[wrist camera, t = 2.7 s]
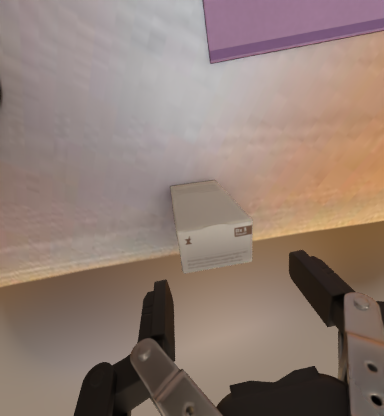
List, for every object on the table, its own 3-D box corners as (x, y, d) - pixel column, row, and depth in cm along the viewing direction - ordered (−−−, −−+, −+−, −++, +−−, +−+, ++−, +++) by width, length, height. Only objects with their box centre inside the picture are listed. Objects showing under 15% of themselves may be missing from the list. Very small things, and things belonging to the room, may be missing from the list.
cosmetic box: (174, 215, 28) (180, 279, 17) (169, 183, 26) (171, 232, 15) (219, 208, 28) (253, 267, 17) (217, 176, 26) (254, 219, 15)
